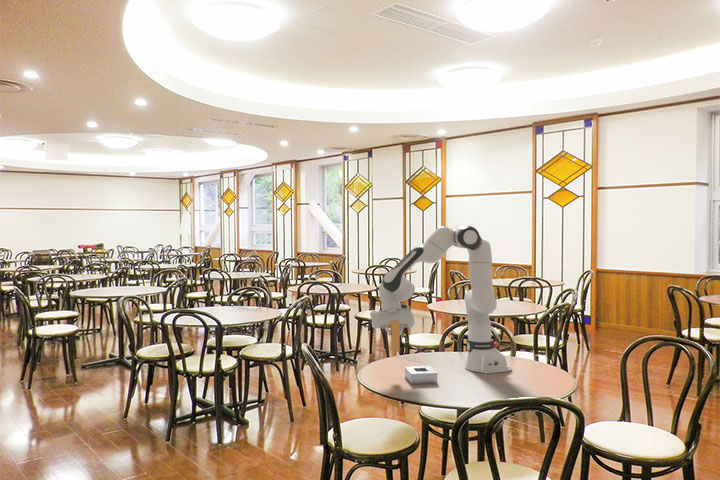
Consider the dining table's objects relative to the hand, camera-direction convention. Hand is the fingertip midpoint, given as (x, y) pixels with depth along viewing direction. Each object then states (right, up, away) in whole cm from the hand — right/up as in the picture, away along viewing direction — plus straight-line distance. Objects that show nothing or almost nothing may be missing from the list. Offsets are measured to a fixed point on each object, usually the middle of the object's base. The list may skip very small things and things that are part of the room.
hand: (395, 334), depth 244 cm
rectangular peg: (0, -8, +1) cm, 8 cm away
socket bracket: (+11, -20, -4) cm, 23 cm away
